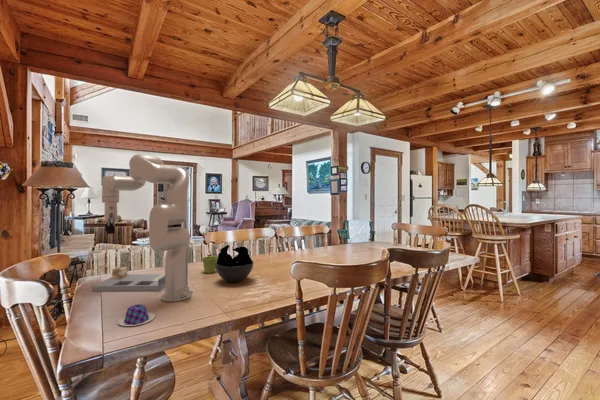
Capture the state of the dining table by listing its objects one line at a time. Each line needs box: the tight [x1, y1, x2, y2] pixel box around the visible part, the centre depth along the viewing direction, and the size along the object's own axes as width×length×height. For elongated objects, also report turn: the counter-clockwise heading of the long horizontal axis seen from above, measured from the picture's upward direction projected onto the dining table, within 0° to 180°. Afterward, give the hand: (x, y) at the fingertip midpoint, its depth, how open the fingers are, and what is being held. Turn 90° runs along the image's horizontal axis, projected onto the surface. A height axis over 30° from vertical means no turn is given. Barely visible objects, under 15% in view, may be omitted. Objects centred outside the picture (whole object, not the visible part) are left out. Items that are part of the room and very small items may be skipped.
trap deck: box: [91, 273, 165, 292], centre depth 153 cm, size 32×21×6 cm, turn 92°
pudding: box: [117, 303, 156, 327], centre depth 110 cm, size 12×12×5 cm
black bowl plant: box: [215, 244, 254, 283], centre depth 160 cm, size 20×20×19 cm
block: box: [111, 266, 128, 279], centre depth 156 cm, size 5×5×5 cm
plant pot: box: [201, 255, 218, 274], centre depth 178 cm, size 9×9×9 cm
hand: (109, 232), depth 155 cm, fingers open, 9 cm apart
